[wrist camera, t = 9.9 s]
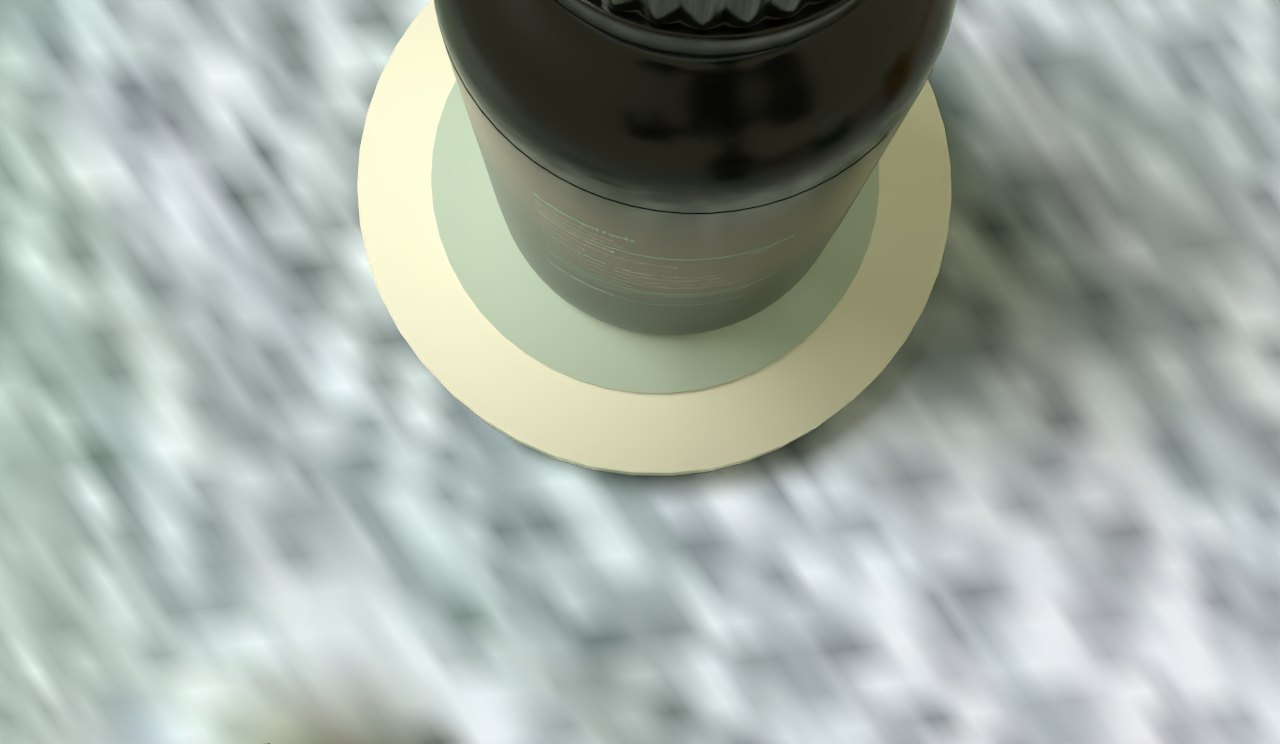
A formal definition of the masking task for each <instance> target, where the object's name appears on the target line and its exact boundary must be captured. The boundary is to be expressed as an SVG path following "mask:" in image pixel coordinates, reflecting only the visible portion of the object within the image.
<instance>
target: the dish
mask: <svg viewBox="0 0 1280 744" xmlns="http://www.w3.org/2000/svg"><path fill="white" fill-rule="evenodd" d="M357 188H358V202H359V216H360V226H361V230H362V235H363V240H364V244H365V249H366V254H367V258H368V262H369V265H370V268H371V270H372V273H373V276H374V279H375V281H376V284H377V287H378V290H379V292H380V295H381V297H382V299H383V301H384V303H385V305H386V307H387V309H388V311H389V313H390V314H391V316H392V318H393V320H394V322H395V324H396V326H397V328H398V330H399V331H400V333H401V334H402V335H403V337H404V338H405V340H406V341H407V342H408V344H409V345H410V347H411V348H412V349H413V351H414V352H415V354H416V355H417V356H418V358H419V359H420V360H421V362H422V363H423V364H424V365H425V366H426V367H427V368H428V369H429V370H430V371H431V372H432V374H433V375H434V376H435V377H436V378H437V379H438V380H439V381H440V382H441V383H442V384H443V385H444V386H445V387H446V388H447V389H448V390H449V391H450V393H451V394H452V395H453V396H454V397H455V398H456V399H457V400H458V401H459V402H461V403H462V404H463V405H464V406H466V407H467V408H468V409H469V410H471V411H472V412H473V413H474V414H476V415H477V416H478V417H479V418H481V419H482V420H483V421H484V422H486V423H487V424H488V425H490V426H492V427H493V428H495V429H497V430H498V431H500V432H501V433H503V434H505V435H506V436H508V437H510V438H511V439H513V440H515V441H516V442H518V443H520V444H522V445H524V446H526V447H529V448H531V449H533V450H536V451H538V452H540V453H542V454H545V455H547V456H549V457H552V458H554V459H557V460H560V461H564V462H567V463H571V464H574V465H578V466H581V467H584V468H588V469H591V470H597V471H604V472H611V473H617V474H624V475H633V476H675V475H684V474H693V473H701V472H709V471H713V470H717V469H721V468H725V467H729V466H733V465H737V464H741V463H745V462H747V461H750V460H752V459H755V458H757V457H760V456H762V455H765V454H767V453H770V452H773V451H775V450H778V449H780V448H782V447H784V446H785V445H787V444H789V443H791V442H793V441H794V440H796V439H798V438H800V437H802V436H803V435H805V434H807V433H809V432H810V431H812V430H814V429H815V428H816V427H818V426H819V425H820V424H822V423H823V422H824V421H826V420H827V419H828V418H830V417H831V416H832V415H834V414H835V413H836V412H838V411H839V410H840V409H842V408H843V407H844V406H846V405H847V404H848V403H850V402H851V401H852V400H854V399H855V398H856V397H857V396H858V395H859V394H860V393H861V392H862V391H863V390H864V389H865V388H866V387H867V386H868V385H869V384H870V383H871V382H872V381H873V380H874V379H875V378H876V377H877V376H878V375H879V374H880V373H881V372H882V371H883V370H884V369H885V367H886V366H887V365H888V363H889V362H890V361H891V359H892V358H893V357H894V356H895V354H896V353H897V352H898V350H899V349H900V348H901V346H902V345H903V344H904V343H905V341H906V340H907V338H908V336H909V334H910V333H911V331H912V329H913V327H914V326H915V324H916V322H917V320H918V319H919V317H920V315H921V313H922V312H923V310H924V308H925V306H926V303H927V301H928V298H929V296H930V293H931V291H932V288H933V286H934V283H935V281H936V278H937V276H938V273H939V270H940V266H941V262H942V258H943V253H944V249H945V245H946V241H947V237H948V229H949V220H950V210H951V200H952V196H951V166H950V157H949V151H948V145H947V140H946V134H945V128H944V124H943V121H942V117H941V114H940V111H939V108H938V105H937V102H936V98H935V95H934V92H933V90H932V87H931V85H930V83H929V81H928V79H927V81H926V83H925V85H924V87H923V88H922V90H921V92H920V94H919V95H918V97H917V98H916V100H915V102H914V103H913V105H912V107H911V108H910V110H909V112H908V113H907V115H906V117H905V118H904V120H903V122H902V123H901V125H900V126H899V128H898V130H897V131H896V133H895V135H894V136H893V138H892V140H891V141H890V143H889V145H888V146H887V148H886V149H885V151H884V153H883V154H882V156H881V158H880V159H879V161H878V163H877V164H876V166H875V167H874V169H873V171H872V172H871V174H870V176H869V177H868V179H867V181H866V182H865V184H864V186H863V187H862V189H861V190H860V192H859V194H858V195H857V197H856V199H855V200H854V202H853V204H852V205H851V207H850V209H849V210H848V212H847V213H846V215H845V217H844V218H843V220H842V222H841V223H840V225H839V227H838V228H837V230H836V231H835V232H834V234H833V236H832V237H831V239H830V241H829V242H828V244H827V245H826V247H825V248H824V250H823V251H822V253H821V254H820V256H819V257H818V259H817V260H816V262H815V263H814V264H813V266H812V267H811V268H810V269H809V271H808V272H807V273H806V274H805V276H804V277H803V278H802V279H801V280H800V281H799V282H798V283H797V284H796V285H795V286H794V287H793V288H792V289H791V290H790V291H788V292H787V293H786V294H785V295H784V296H782V297H781V298H780V299H779V300H777V301H776V302H775V303H773V304H772V305H770V306H769V307H767V308H766V309H764V310H763V311H761V312H759V313H757V314H755V315H753V316H751V317H750V318H748V319H745V320H743V321H740V322H738V323H736V324H733V325H730V326H727V327H724V328H721V329H717V330H713V331H708V332H703V333H698V334H688V335H655V334H645V333H640V332H635V331H630V330H626V329H623V328H619V327H616V326H612V325H610V324H607V323H605V322H602V321H600V320H597V319H595V318H593V317H591V316H589V315H588V314H586V313H584V312H582V311H580V310H579V309H577V308H575V307H574V306H572V305H571V304H569V303H568V302H566V301H565V300H564V299H563V298H561V297H560V296H559V295H558V294H556V293H555V292H554V291H553V290H552V289H551V288H550V287H549V286H548V285H547V284H546V283H545V282H543V281H542V280H541V278H540V277H539V276H538V275H537V274H536V272H535V271H534V270H533V269H532V268H531V266H530V265H529V264H528V262H527V261H526V259H525V258H524V256H523V255H522V253H521V252H520V250H519V249H518V247H517V245H516V243H515V241H514V239H513V238H512V236H511V234H510V231H509V229H508V226H507V224H506V222H505V219H504V217H503V214H502V212H501V209H500V207H499V204H498V201H497V198H496V196H495V193H494V190H493V187H492V184H491V181H490V178H489V175H488V172H487V169H486V166H485V163H484V160H483V157H482V154H481V151H480V148H479V145H478V142H477V139H476V137H475V134H474V131H473V128H472V125H471V122H470V119H469V116H468V113H467V110H466V107H465V104H464V101H463V98H462V95H461V92H460V89H459V86H458V83H457V81H456V78H455V75H454V72H453V69H452V66H451V63H450V60H449V57H448V54H447V51H446V47H445V44H444V41H443V37H442V34H441V31H440V27H439V24H438V19H437V15H436V10H435V5H434V0H431V1H430V2H429V3H428V4H427V5H426V6H425V7H424V9H423V10H422V11H421V12H420V13H419V14H418V15H417V17H416V18H415V19H414V21H413V22H412V24H411V25H410V27H409V28H408V30H407V31H406V32H405V34H404V35H403V37H402V38H401V40H400V41H399V43H398V44H397V45H396V47H395V49H394V51H393V53H392V55H391V57H390V59H389V61H388V63H387V65H386V67H385V69H384V71H383V73H382V75H381V77H380V79H379V81H378V84H377V87H376V90H375V93H374V96H373V98H372V101H371V104H370V107H369V110H368V113H367V117H366V122H365V127H364V132H363V136H362V141H361V146H360V155H359V170H358V185H357Z"/></svg>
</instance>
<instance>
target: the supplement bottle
mask: <svg viewBox="0 0 1280 744" xmlns="http://www.w3.org/2000/svg"><path fill="white" fill-rule="evenodd" d="M955 4H956V0H434V5H435V10H436V15H437V19H438V24H439V27H440V31H441V34H442V37H443V41H444V44H445V47H446V51H447V54H448V57H449V60H450V63H451V66H452V69H453V72H454V75H455V78H456V81H457V83H458V86H459V89H460V92H461V95H462V98H463V101H464V104H465V107H466V110H467V113H468V116H469V119H470V122H471V125H472V128H473V131H474V134H475V137H476V139H477V142H478V145H479V148H480V151H481V154H482V157H483V160H484V163H485V166H486V169H487V172H488V175H489V178H490V181H491V184H492V187H493V190H494V193H495V196H496V198H497V201H498V204H499V207H500V209H501V212H502V214H503V217H504V219H505V222H506V224H507V226H508V229H509V231H510V234H511V236H512V238H513V239H514V241H515V243H516V245H517V247H518V249H519V250H520V252H521V253H522V255H523V256H524V258H525V259H526V261H527V262H528V264H529V265H530V266H531V268H532V269H533V270H534V271H535V272H536V274H537V275H538V276H539V277H540V278H541V280H542V281H543V282H545V283H546V284H547V285H548V286H549V287H550V288H551V289H552V290H553V291H554V292H555V293H556V294H558V295H559V296H560V297H561V298H563V299H564V300H565V301H566V302H568V303H569V304H571V305H572V306H574V307H575V308H577V309H579V310H580V311H582V312H584V313H586V314H588V315H589V316H591V317H593V318H595V319H597V320H600V321H602V322H605V323H607V324H610V325H612V326H616V327H619V328H623V329H626V330H630V331H635V332H640V333H645V334H655V335H688V334H698V333H703V332H708V331H713V330H717V329H721V328H724V327H727V326H730V325H733V324H736V323H738V322H740V321H743V320H745V319H748V318H750V317H751V316H753V315H755V314H757V313H759V312H761V311H763V310H764V309H766V308H767V307H769V306H770V305H772V304H773V303H775V302H776V301H777V300H779V299H780V298H781V297H782V296H784V295H785V294H786V293H787V292H788V291H790V290H791V289H792V288H793V287H794V286H795V285H796V284H797V283H798V282H799V281H800V280H801V279H802V278H803V277H804V276H805V274H806V273H807V272H808V271H809V269H810V268H811V267H812V266H813V264H814V263H815V262H816V260H817V259H818V257H819V256H820V254H821V253H822V251H823V250H824V248H825V247H826V245H827V244H828V242H829V241H830V239H831V237H832V236H833V234H834V232H835V231H836V230H837V228H838V227H839V225H840V223H841V222H842V220H843V218H844V217H845V215H846V213H847V212H848V210H849V209H850V207H851V205H852V204H853V202H854V200H855V199H856V197H857V195H858V194H859V192H860V190H861V189H862V187H863V186H864V184H865V182H866V181H867V179H868V177H869V176H870V174H871V172H872V171H873V169H874V167H875V166H876V164H877V163H878V161H879V159H880V158H881V156H882V154H883V153H884V151H885V149H886V148H887V146H888V145H889V143H890V141H891V140H892V138H893V136H894V135H895V133H896V131H897V130H898V128H899V126H900V125H901V123H902V122H903V120H904V118H905V117H906V115H907V113H908V112H909V110H910V108H911V107H912V105H913V103H914V102H915V100H916V98H917V97H918V95H919V94H920V92H921V90H922V88H923V87H924V85H925V83H926V81H927V79H928V77H929V75H930V73H931V71H932V69H933V67H934V65H935V63H936V61H937V58H938V56H939V54H940V51H941V49H942V46H943V44H944V41H945V38H946V36H947V33H948V31H949V27H950V24H951V20H952V16H953V12H954V8H955Z"/></svg>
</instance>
